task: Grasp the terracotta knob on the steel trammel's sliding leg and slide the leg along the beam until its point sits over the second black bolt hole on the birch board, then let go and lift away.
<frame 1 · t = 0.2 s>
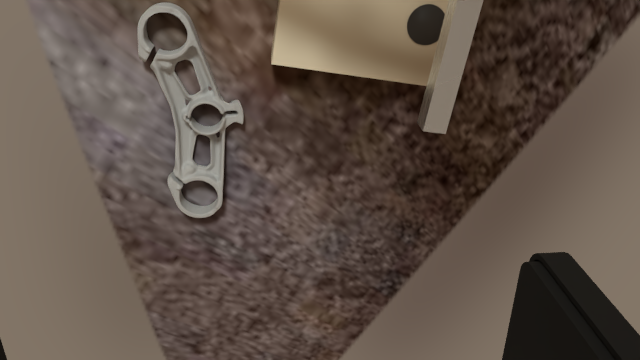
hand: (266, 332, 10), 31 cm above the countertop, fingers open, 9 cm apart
bracket: (190, 112, 41), on the countertop
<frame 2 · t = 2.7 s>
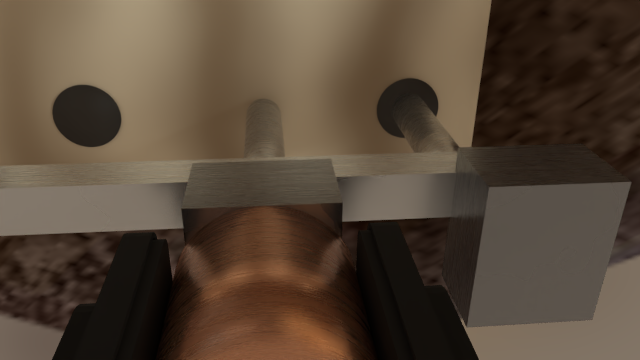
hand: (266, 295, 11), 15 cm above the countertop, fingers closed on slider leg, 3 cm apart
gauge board: (235, 13, 23), on the countertop
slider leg: (264, 195, 15), point 11 cm above the countertop, slide at 0.0 cm, touching gripper
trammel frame: (222, 152, 17), on the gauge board, point 8 cm above the countertop
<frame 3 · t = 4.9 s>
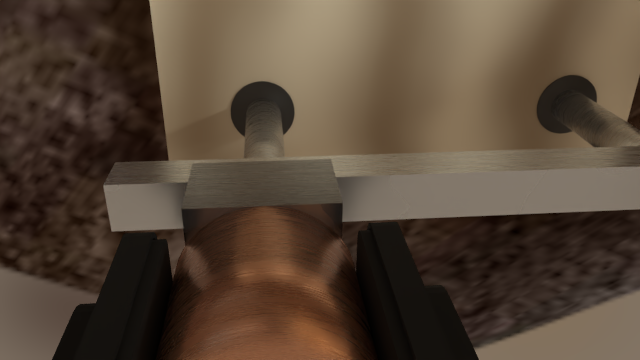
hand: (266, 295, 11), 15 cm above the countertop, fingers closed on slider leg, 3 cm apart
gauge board: (402, 11, 24), on the countertop
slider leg: (264, 196, 15), point 11 cm above the countertop, slide at 7.0 cm, touching gripper
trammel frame: (447, 145, 18), on the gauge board, point 8 cm above the countertop
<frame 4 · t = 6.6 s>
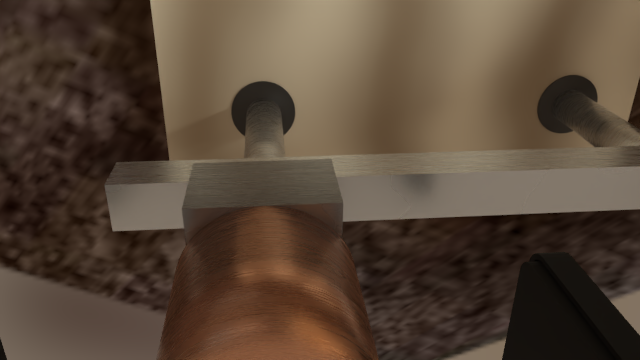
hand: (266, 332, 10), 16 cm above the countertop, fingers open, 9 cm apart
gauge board: (402, 11, 24), on the countertop
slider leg: (265, 195, 15), point 11 cm above the countertop, slide at 7.0 cm
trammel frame: (447, 145, 18), on the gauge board, point 8 cm above the countertop
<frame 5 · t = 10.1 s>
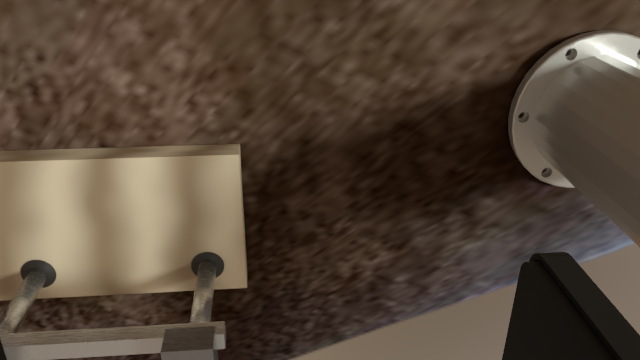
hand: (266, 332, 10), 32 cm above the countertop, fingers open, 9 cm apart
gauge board: (116, 217, 45), on the countertop
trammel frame: (91, 311, 39), on the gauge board, point 8 cm above the countertop
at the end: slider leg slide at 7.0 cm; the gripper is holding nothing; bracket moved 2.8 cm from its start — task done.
